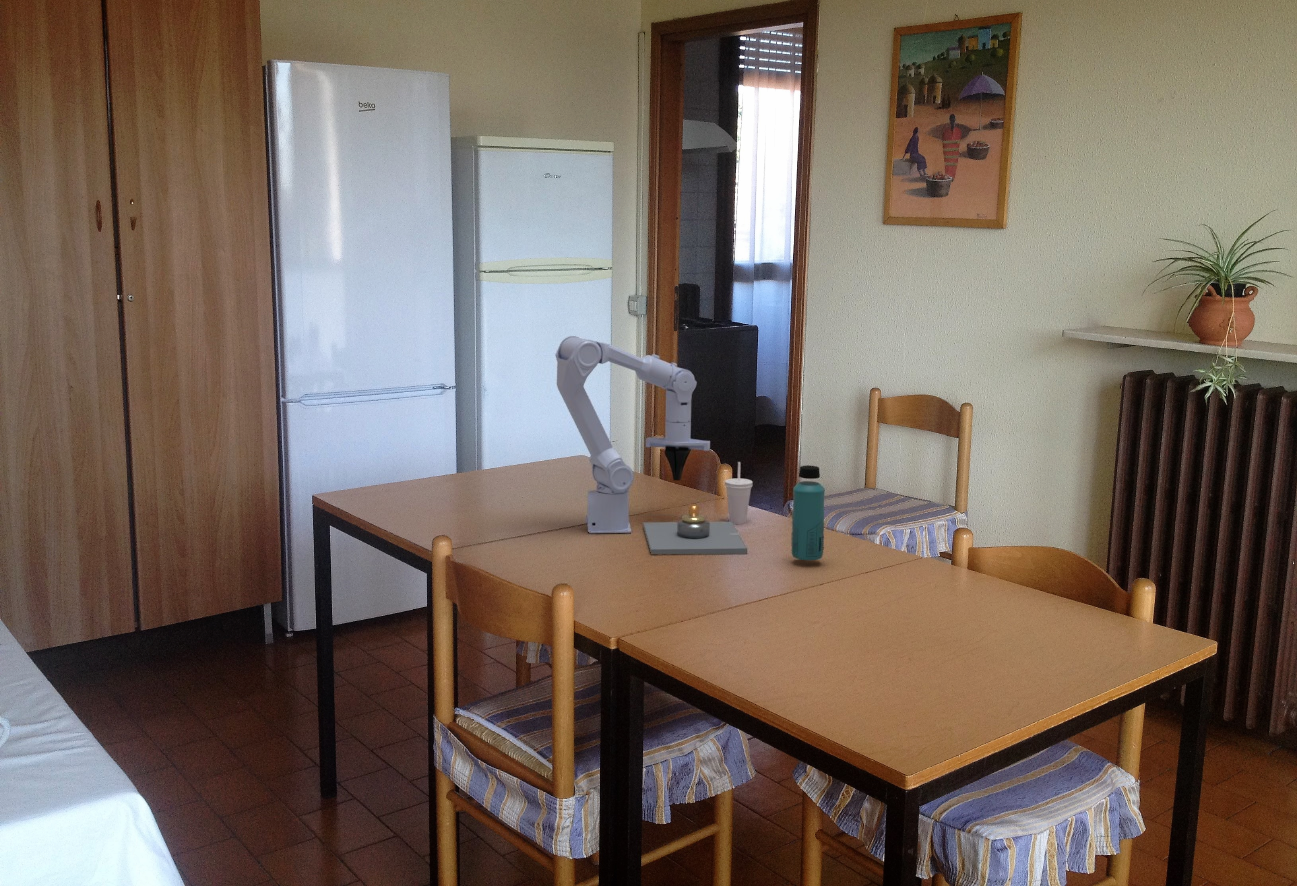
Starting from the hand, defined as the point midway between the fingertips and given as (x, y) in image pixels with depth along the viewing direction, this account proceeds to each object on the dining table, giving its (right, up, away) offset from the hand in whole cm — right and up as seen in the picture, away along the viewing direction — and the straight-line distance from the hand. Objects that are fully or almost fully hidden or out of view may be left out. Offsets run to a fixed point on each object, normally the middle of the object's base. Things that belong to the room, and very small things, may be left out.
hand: (677, 479), depth 264 cm
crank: (+3, -11, -11) cm, 16 cm away
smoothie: (+14, -10, +2) cm, 17 cm away
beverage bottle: (+25, -16, -30) cm, 42 cm away
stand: (+3, -13, -14) cm, 19 cm away
